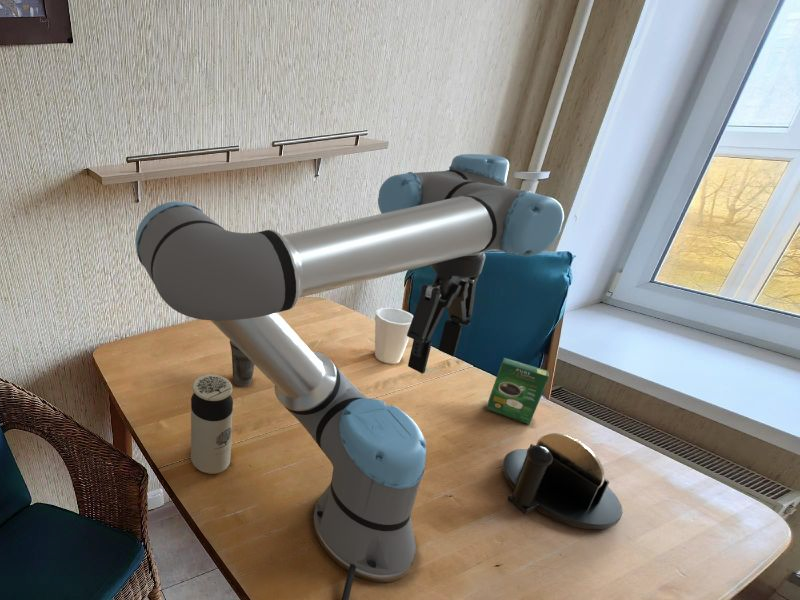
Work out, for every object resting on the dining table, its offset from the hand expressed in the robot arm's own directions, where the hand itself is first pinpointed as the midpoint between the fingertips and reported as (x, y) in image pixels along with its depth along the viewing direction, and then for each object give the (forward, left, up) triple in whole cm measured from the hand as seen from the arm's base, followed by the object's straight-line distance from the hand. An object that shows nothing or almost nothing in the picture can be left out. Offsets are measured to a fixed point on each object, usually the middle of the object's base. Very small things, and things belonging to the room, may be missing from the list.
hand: (431, 360), depth 80 cm
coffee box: (+28, -6, -22) cm, 36 cm away
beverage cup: (-15, +35, -22) cm, 44 cm away
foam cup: (+26, +22, -22) cm, 41 cm away
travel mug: (-37, +19, -22) cm, 47 cm away
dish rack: (+11, -19, -20) cm, 30 cm away
